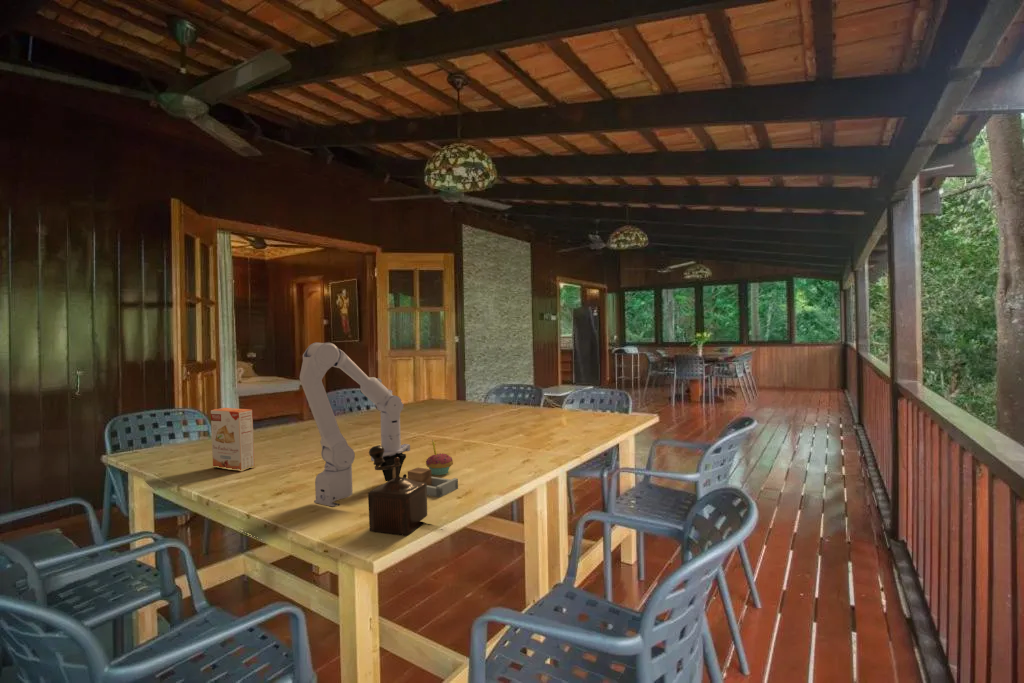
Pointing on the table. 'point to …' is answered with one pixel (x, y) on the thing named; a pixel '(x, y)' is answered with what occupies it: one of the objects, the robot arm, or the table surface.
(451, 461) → the cupcake
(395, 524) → the manual coffee grinder
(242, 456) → the cracker box
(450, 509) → the table surface
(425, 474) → the block
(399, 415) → the robot arm
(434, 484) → the lane shelf
